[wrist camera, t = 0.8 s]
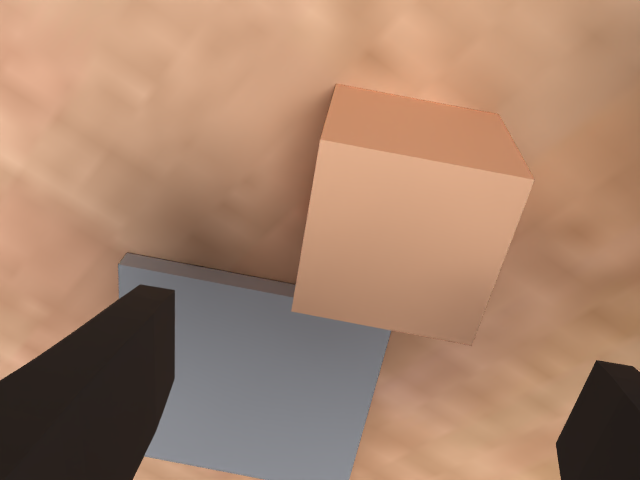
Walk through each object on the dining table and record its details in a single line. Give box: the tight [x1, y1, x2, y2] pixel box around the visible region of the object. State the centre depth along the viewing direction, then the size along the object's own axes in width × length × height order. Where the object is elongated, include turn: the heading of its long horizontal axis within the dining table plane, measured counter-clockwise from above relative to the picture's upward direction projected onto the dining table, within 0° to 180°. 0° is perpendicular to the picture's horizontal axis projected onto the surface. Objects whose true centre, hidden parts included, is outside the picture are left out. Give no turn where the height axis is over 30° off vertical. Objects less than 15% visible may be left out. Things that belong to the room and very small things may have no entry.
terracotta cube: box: [291, 84, 535, 346], centre depth 17 cm, size 5×5×5 cm
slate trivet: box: [118, 253, 391, 480], centre depth 24 cm, size 10×10×1 cm
